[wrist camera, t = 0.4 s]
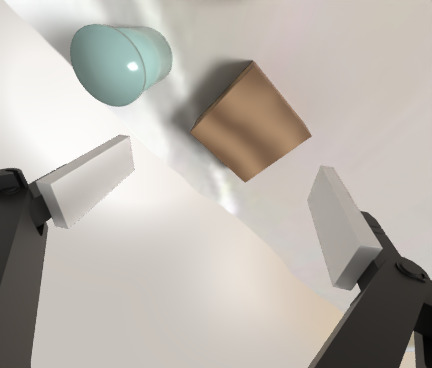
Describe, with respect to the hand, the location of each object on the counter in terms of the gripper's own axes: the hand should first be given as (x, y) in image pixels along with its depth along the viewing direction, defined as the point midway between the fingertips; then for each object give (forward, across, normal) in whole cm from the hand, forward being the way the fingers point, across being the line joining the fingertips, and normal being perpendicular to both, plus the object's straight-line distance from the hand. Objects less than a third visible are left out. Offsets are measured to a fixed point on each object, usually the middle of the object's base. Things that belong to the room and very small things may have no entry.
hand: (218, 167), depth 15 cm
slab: (+24, +1, -3) cm, 24 cm away
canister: (+22, -15, +5) cm, 27 cm away
